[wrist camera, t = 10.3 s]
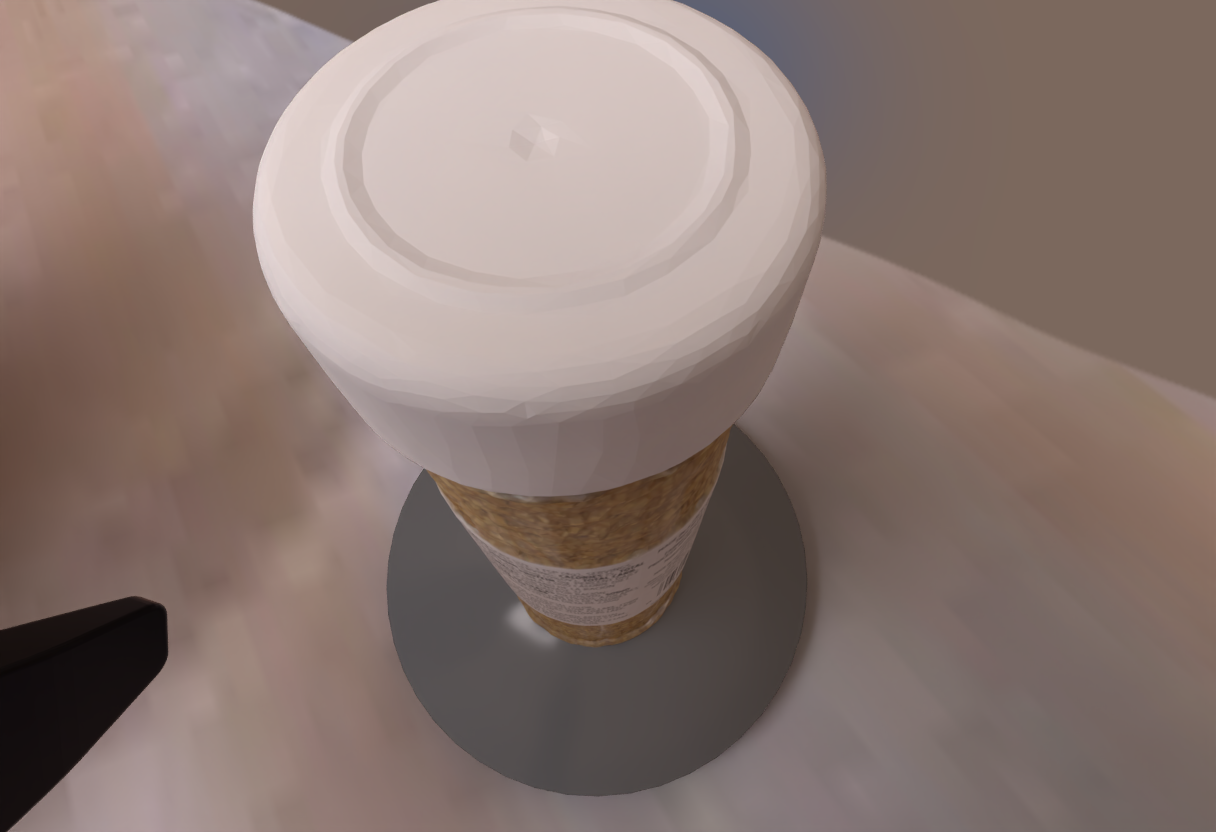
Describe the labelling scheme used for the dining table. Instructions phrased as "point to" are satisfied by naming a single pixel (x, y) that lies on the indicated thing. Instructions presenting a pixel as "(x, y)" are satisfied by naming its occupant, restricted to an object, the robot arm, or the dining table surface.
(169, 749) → the dining table surface
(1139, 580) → the dining table surface
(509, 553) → the sprinkles bottle
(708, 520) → the slate gray plate
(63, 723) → the robot arm
